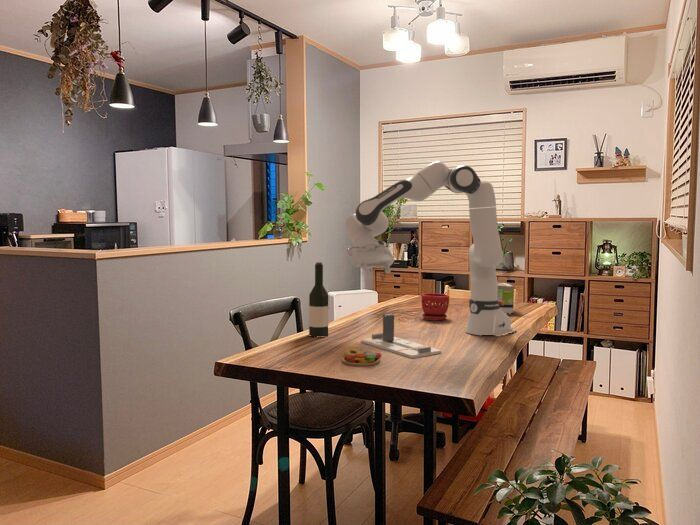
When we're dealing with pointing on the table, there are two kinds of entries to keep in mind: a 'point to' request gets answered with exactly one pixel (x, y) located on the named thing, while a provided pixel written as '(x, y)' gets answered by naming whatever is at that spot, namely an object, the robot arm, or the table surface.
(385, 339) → the fader tab
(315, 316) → the wine bottle
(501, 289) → the tea box
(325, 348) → the table surface
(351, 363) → the toy food set
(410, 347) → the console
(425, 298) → the plant pot
